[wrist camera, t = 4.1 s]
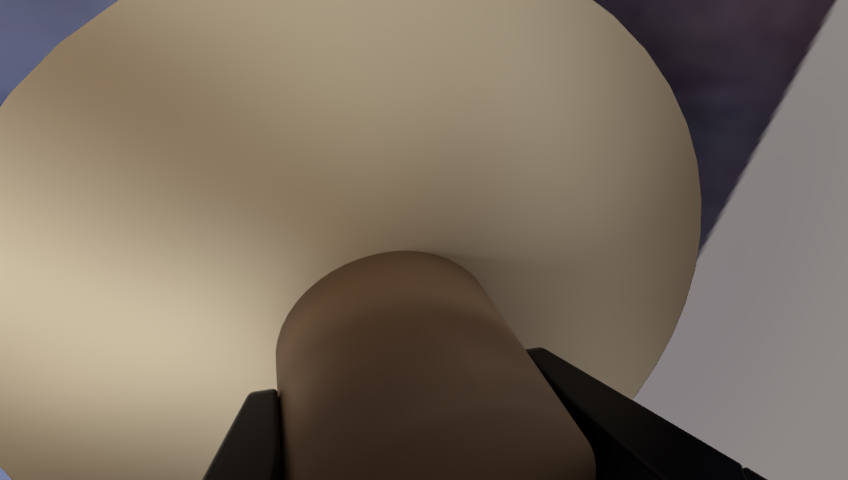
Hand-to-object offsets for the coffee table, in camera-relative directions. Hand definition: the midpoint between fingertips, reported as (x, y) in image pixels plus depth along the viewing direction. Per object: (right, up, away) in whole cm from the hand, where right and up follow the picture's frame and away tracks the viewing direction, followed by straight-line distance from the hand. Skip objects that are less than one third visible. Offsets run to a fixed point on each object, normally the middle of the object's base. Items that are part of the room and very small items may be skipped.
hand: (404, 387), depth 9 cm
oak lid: (-1, +1, +2) cm, 2 cm away
